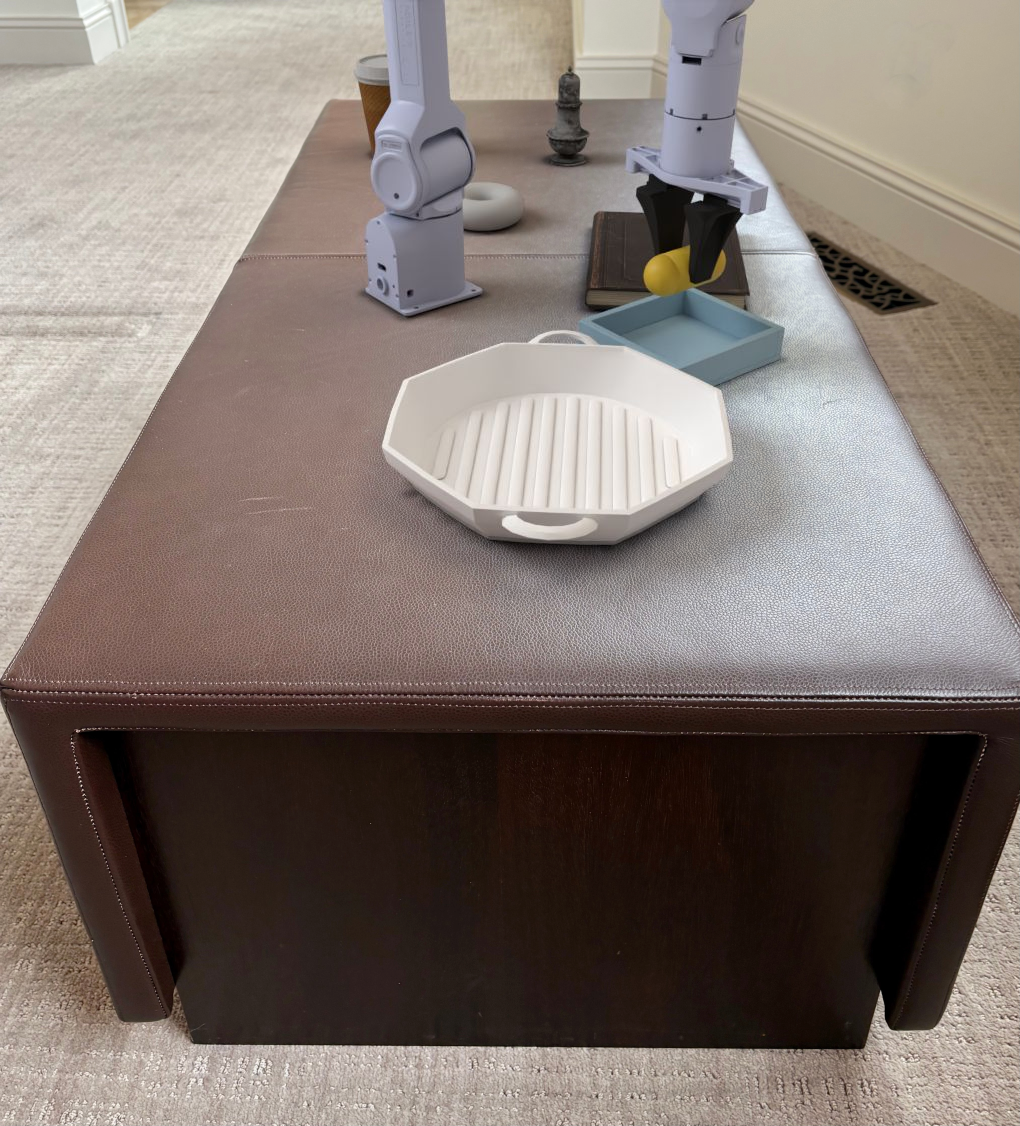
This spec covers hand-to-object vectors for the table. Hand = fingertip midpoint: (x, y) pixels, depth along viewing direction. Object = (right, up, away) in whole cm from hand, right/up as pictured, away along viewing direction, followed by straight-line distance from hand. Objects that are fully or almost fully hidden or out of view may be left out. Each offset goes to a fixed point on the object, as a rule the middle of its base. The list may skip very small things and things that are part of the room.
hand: (684, 273), depth 94 cm
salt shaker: (-8, +29, +52) cm, 60 cm away
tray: (0, -6, +4) cm, 8 cm away
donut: (-19, +15, +33) cm, 41 cm away
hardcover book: (+1, +6, +21) cm, 21 cm away
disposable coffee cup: (-31, +31, +55) cm, 70 cm away
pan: (-12, -18, -11) cm, 24 cm away
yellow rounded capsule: (0, -1, +1) cm, 1 cm away
